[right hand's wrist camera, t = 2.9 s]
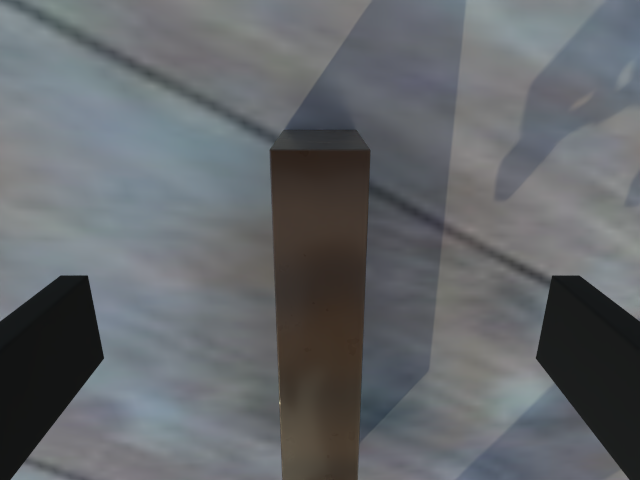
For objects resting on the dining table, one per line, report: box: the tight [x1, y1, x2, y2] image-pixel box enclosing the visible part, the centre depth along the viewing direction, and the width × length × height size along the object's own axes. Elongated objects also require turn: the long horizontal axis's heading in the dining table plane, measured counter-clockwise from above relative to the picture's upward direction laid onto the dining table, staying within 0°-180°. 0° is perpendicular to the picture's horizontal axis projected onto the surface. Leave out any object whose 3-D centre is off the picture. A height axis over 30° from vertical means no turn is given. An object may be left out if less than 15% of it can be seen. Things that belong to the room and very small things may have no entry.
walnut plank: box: [270, 130, 370, 480], centre depth 28 cm, size 26×4×8 cm, turn 0°
